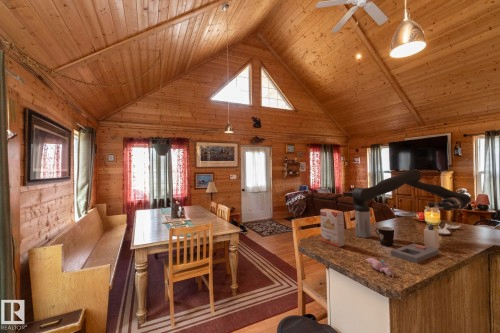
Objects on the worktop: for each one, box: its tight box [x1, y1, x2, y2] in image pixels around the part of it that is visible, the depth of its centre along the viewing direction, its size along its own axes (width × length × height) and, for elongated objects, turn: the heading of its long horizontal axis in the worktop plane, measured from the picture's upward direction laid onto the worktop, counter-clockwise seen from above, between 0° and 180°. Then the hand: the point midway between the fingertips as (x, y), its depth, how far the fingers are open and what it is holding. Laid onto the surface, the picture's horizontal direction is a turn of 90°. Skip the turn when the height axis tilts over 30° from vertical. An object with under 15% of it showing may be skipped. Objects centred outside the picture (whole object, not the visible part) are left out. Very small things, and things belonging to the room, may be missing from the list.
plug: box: [423, 223, 440, 249], centre depth 126 cm, size 5×5×13 cm
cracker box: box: [319, 208, 346, 248], centre depth 139 cm, size 14×6×21 cm, turn 27°
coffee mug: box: [374, 226, 395, 248], centre depth 134 cm, size 12×9×10 cm
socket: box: [390, 243, 440, 264], centre depth 116 cm, size 22×12×3 cm, turn 118°
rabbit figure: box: [365, 257, 399, 279], centre depth 99 cm, size 6×6×15 cm
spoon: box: [437, 222, 462, 235], centre depth 157 cm, size 9×32×4 cm, turn 124°
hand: (438, 206), depth 132 cm, fingers open, 8 cm apart
